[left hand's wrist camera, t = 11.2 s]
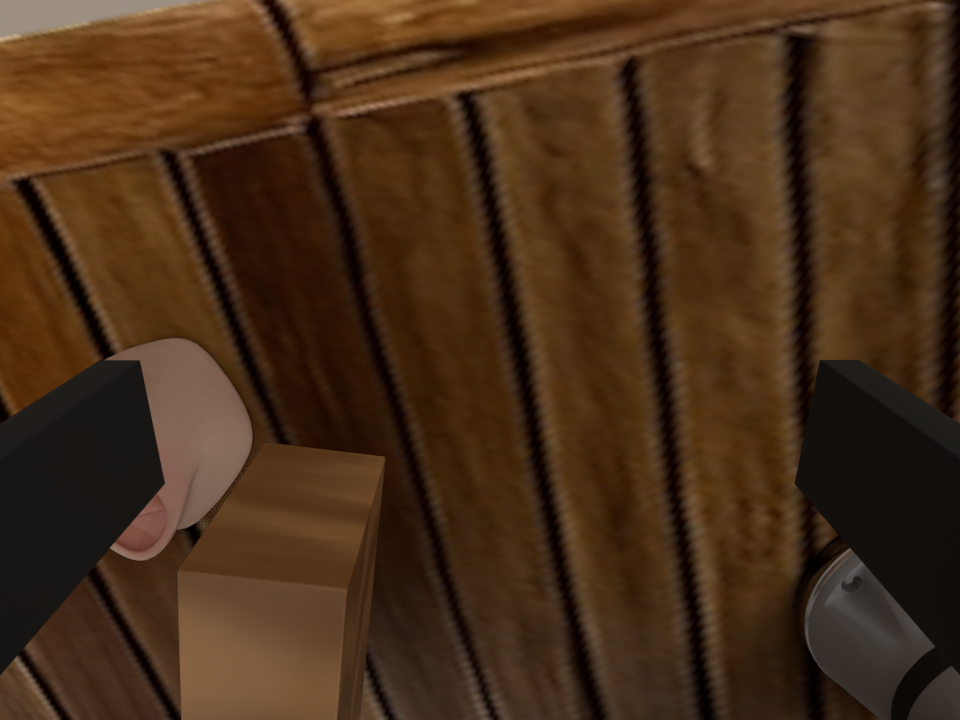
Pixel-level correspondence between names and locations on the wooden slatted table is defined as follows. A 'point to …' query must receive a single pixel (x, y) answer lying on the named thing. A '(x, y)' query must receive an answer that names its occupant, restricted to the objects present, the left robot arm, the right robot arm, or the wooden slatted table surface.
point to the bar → (282, 590)
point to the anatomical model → (186, 440)
